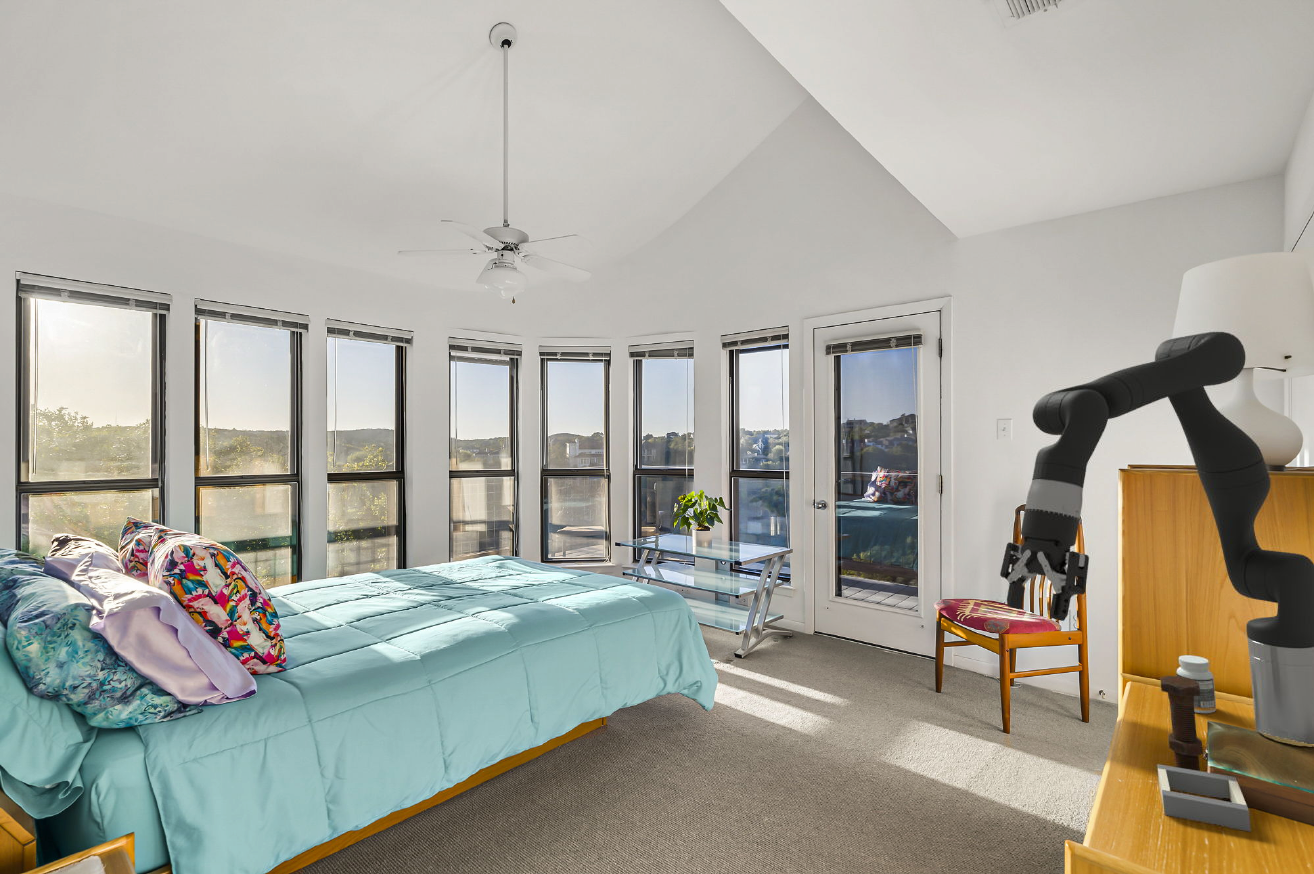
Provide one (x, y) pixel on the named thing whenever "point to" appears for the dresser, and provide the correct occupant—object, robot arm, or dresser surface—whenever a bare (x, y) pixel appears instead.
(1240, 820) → the grey white square frame
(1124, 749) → the dresser surface
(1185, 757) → the bolt
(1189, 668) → the pill bottle
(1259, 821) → the dresser surface
